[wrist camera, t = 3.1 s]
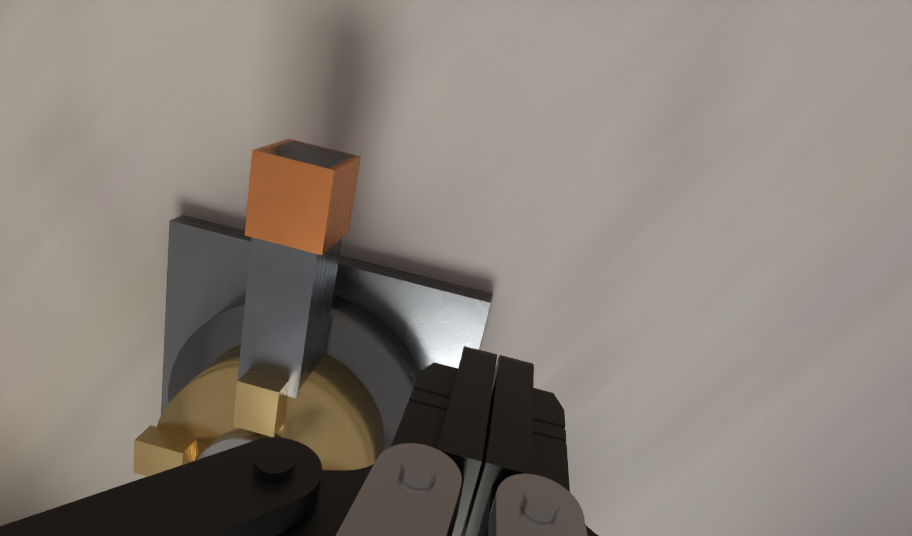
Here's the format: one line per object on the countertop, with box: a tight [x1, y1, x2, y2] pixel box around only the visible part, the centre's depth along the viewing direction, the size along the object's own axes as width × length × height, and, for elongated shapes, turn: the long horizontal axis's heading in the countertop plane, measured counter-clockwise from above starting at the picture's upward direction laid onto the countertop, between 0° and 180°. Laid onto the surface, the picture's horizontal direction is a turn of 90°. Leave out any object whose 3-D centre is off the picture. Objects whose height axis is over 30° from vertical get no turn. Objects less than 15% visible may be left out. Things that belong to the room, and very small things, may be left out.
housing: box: [161, 216, 492, 460], centre depth 26 cm, size 15×15×7 cm
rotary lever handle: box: [134, 139, 385, 476], centre depth 23 cm, size 18×9×4 cm, turn 168°
